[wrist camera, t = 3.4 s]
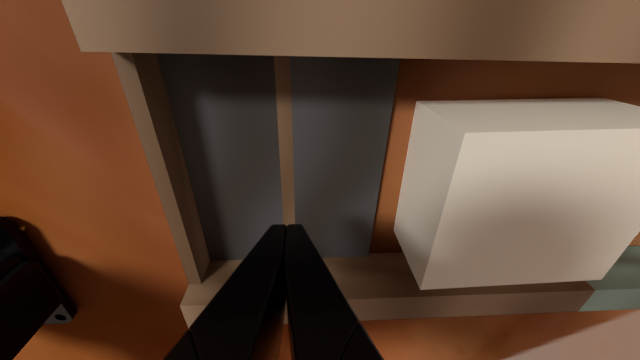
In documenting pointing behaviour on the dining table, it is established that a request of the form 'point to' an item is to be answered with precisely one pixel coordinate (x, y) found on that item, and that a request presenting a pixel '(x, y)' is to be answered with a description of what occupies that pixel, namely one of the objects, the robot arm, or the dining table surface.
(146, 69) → the box
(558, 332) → the dining table surface
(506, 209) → the ivory block
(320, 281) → the robot arm
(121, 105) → the dining table surface
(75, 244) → the dining table surface
